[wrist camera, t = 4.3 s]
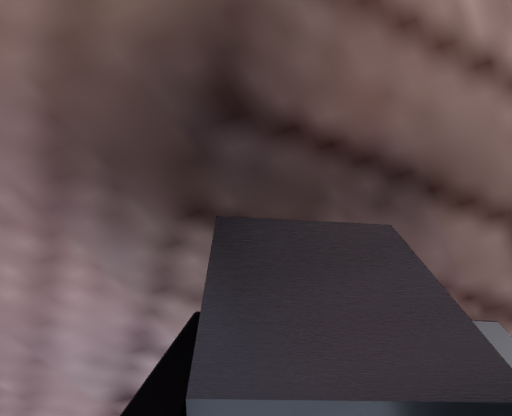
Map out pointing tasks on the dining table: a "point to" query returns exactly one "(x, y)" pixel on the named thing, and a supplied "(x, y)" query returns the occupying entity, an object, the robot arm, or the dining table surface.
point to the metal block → (334, 328)
